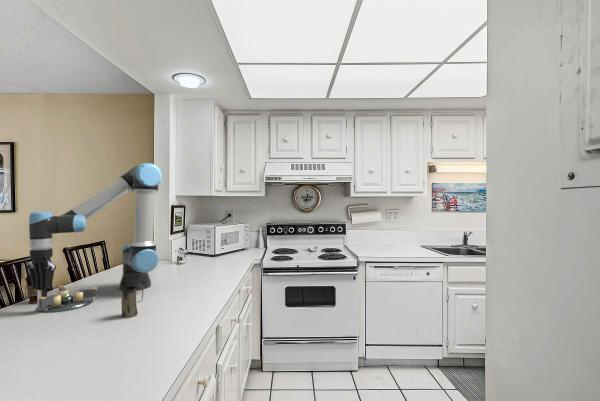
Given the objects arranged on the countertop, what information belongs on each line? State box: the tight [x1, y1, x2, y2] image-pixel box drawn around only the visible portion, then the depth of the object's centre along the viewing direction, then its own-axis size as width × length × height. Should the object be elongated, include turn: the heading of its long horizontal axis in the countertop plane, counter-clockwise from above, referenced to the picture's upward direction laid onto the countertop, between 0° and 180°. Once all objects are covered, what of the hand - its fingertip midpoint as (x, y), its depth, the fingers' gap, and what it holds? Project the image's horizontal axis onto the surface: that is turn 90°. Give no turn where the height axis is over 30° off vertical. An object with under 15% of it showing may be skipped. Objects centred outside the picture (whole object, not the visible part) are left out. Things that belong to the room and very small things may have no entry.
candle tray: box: [37, 292, 94, 313], centre depth 145 cm, size 20×20×5 cm
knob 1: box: [39, 293, 61, 307], centre depth 138 cm, size 8×4×5 cm, turn 167°
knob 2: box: [58, 284, 70, 297], centre depth 150 cm, size 8×4×5 cm, turn 47°
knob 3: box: [74, 286, 98, 302], centre depth 147 cm, size 8×4×5 cm, turn 107°
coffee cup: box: [24, 274, 38, 305], centre depth 149 cm, size 9×8×13 cm
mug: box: [121, 285, 144, 319], centre depth 131 cm, size 8×6×12 cm
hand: (42, 304), depth 137 cm, fingers closed
